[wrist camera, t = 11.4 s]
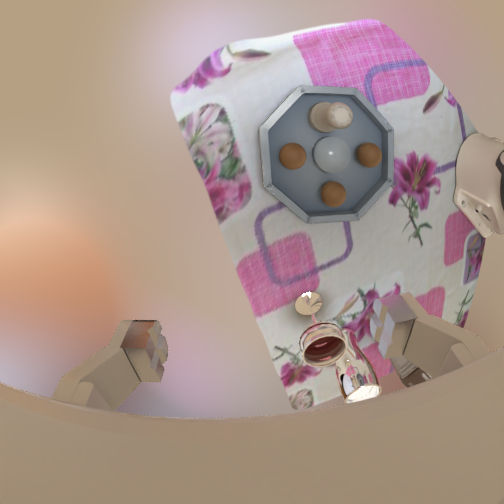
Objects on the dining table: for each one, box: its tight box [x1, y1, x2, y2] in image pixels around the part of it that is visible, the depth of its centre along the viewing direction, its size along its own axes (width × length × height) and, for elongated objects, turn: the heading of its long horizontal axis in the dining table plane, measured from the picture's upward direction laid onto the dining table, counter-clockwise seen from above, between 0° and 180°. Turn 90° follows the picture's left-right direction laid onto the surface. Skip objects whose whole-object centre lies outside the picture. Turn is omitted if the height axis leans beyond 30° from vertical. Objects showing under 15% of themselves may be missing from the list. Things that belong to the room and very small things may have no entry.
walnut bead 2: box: [321, 181, 346, 207], centre depth 37 cm, size 4×4×4 cm
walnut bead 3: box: [357, 143, 382, 168], centre depth 34 cm, size 4×4×4 cm
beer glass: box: [335, 328, 382, 404], centre depth 45 cm, size 7×7×15 cm
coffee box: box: [390, 355, 433, 387], centre depth 44 cm, size 9×6×16 cm
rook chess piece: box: [308, 102, 353, 133], centre depth 30 cm, size 4×4×8 cm
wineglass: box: [295, 292, 347, 367], centre depth 42 cm, size 7×7×12 cm
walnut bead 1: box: [279, 143, 307, 170], centre depth 34 cm, size 4×4×4 cm
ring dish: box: [259, 86, 394, 224], centre depth 35 cm, size 19×19×3 cm
